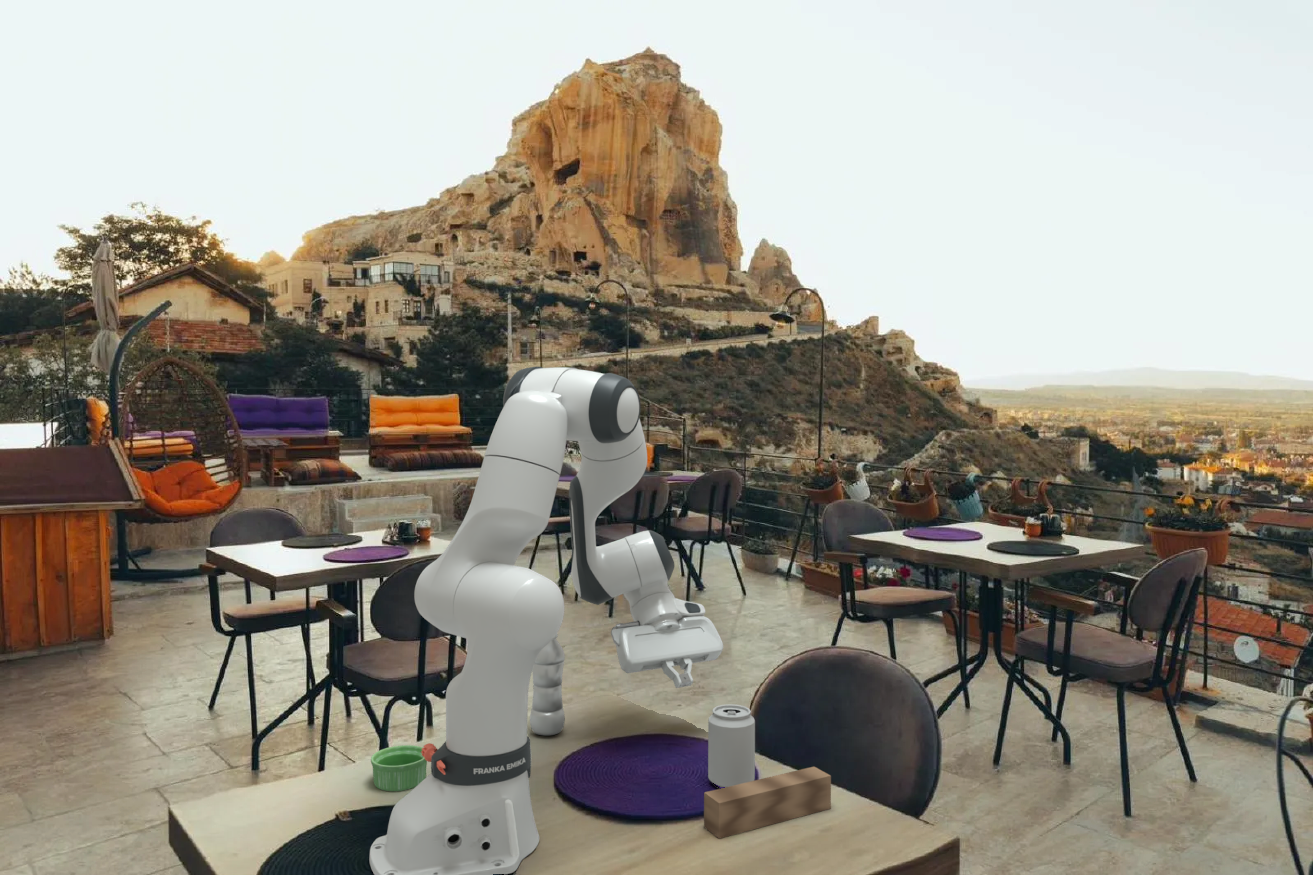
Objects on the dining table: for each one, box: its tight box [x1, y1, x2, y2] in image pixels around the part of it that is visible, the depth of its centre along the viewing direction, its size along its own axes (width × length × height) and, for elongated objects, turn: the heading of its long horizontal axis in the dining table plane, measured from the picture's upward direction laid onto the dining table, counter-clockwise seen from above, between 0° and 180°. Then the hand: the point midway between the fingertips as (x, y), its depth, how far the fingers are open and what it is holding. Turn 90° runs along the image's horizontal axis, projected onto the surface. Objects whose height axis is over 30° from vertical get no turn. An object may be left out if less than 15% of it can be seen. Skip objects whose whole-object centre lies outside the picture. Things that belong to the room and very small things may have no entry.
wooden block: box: [703, 766, 832, 840], centre depth 128 cm, size 20×4×5 cm, turn 119°
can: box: [707, 703, 756, 787], centre depth 140 cm, size 8×8×12 cm
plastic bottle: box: [529, 633, 566, 736], centre depth 162 cm, size 6×7×20 cm
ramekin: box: [370, 744, 428, 792], centre depth 141 cm, size 9×9×4 cm
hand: (685, 685), depth 153 cm, fingers closed
